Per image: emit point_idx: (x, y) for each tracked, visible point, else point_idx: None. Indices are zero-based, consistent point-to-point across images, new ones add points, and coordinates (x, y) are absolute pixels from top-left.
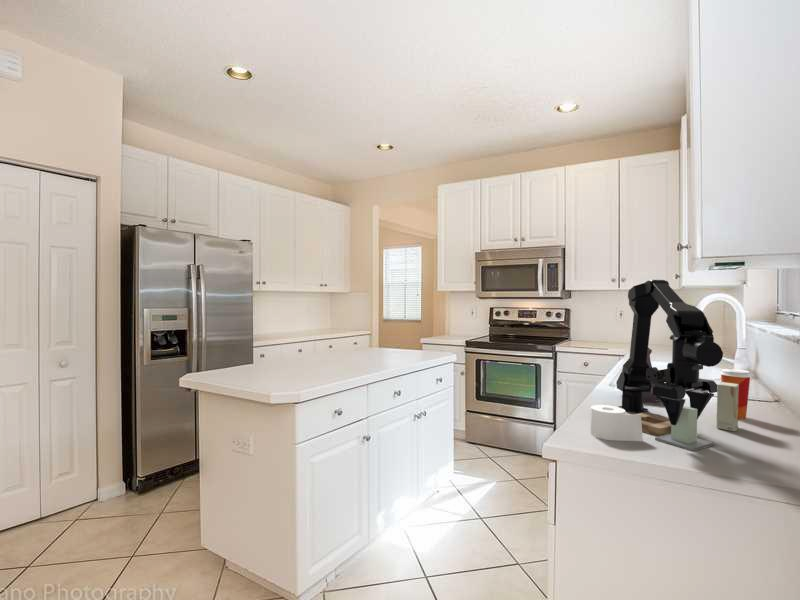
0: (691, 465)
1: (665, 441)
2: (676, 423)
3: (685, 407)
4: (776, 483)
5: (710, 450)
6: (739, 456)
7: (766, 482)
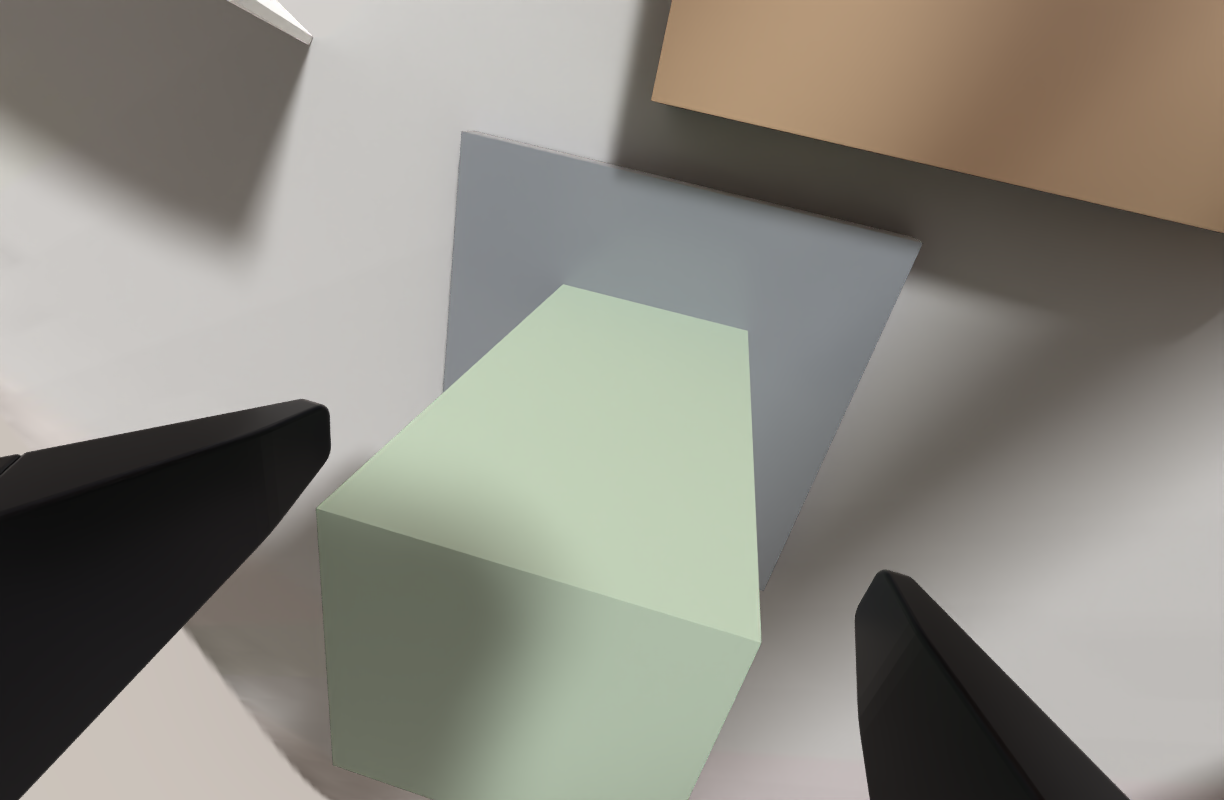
0: None
1: (458, 257)
2: (303, 478)
3: (580, 729)
4: (328, 781)
5: None
6: None
7: (301, 757)
